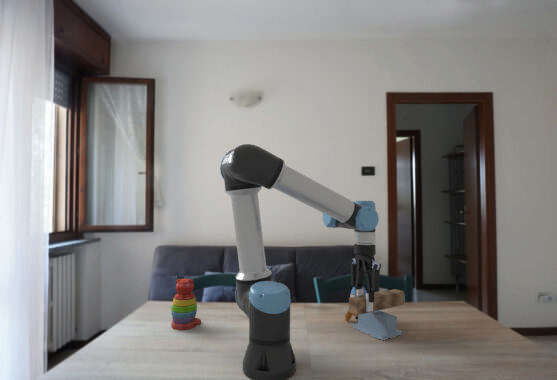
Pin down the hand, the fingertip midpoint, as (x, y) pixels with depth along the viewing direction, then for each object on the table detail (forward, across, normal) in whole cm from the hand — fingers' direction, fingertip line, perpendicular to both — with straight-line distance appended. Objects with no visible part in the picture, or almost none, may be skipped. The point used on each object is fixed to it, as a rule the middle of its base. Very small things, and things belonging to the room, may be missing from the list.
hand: (364, 309), depth 128 cm
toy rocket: (+9, +13, -8) cm, 18 cm away
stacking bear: (+9, +42, +52) cm, 68 cm away
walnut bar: (+1, 0, -6) cm, 6 cm away
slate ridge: (+9, 0, -6) cm, 11 cm away
